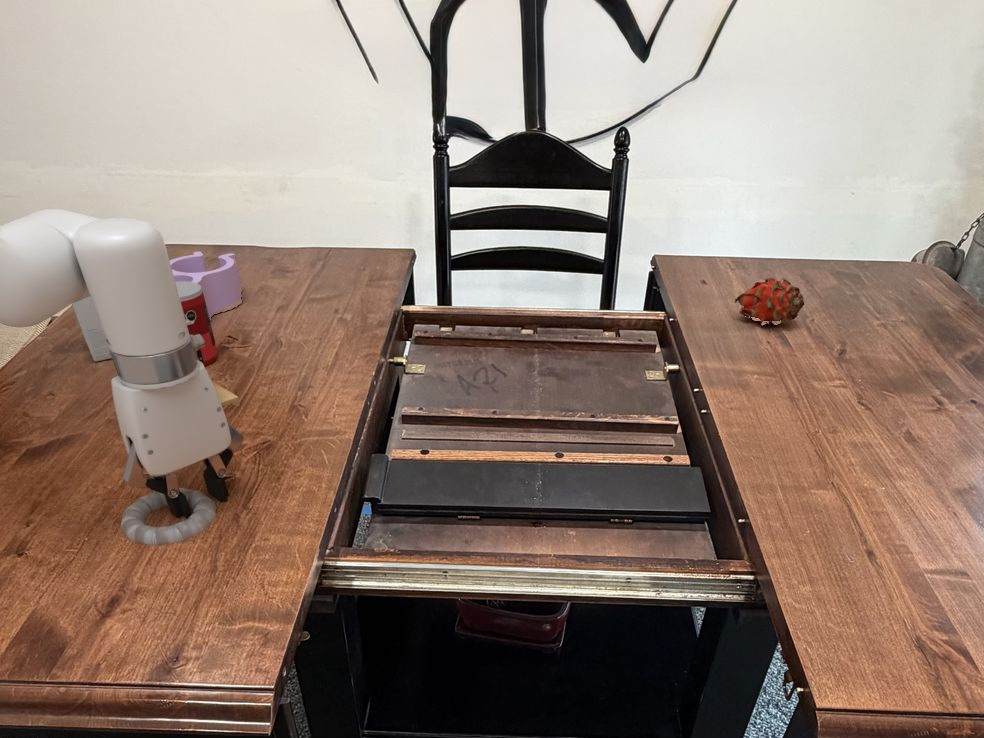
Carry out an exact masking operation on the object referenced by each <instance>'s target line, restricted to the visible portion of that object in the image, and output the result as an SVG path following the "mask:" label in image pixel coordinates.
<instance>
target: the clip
mask: <svg viewBox="0 0 984 738" xmlns="http://www.w3.org/2000/svg"><path fill="white" fill-rule="evenodd" d="M217 258H218V262H219V268H216V269H214V270H207V264H206V261H205V258H204V253H202V251H194V252H193V254H189V255H184V256H179V257H176V258H173V259H169V261H170V264H171V268H172V272H173V275H174V279H175V282H177V281H187V282H194V283H197V284H199V285H200V286H201V288H202V290H203V294H204V298H205V302H206V306H207V310H208V314H209V318H211V315H212V314H213V313H214V312H216V311H218V310H222V309H225V308H228V307H230V306H232V305H235V304H236V303H237V302H239V300H240V299H241V297H242V298H243V296H242V293H241V290H240V287H242V283H241V278H240V274H239V269H238V264H237V260H236V254H235V253H233V252H230V253H226V254H222V255H219V256H217Z"/></svg>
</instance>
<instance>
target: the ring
mask: <svg viewBox="0 0 984 738" xmlns="http://www.w3.org/2000/svg"><path fill="white" fill-rule="evenodd" d="M179 490H180V491H181V492H182V493H183V494H184V495H185V496H186V498H187V501H188V504H189V508H190V510H191V511H193V513H191V514H192V515H191V516H190V517H189V518H188V519H186V518H185V519H184V520H182V521H179V522H178V523H175V524H171V525H165V526H152V525H147V524H146V519H147V517H148V516H150V514H151V513H153V512H155V511H157V510H159V509H162V508H164V507H168V504H167V501H166V498H165V495H164V494H162V493H159V492H156V491H153V492H151V493H149V494H146V495H144V496H141V497H139V498H137V499H135V501H134V502H132V503H131V504H130V505H129V506H128V507H127V508H126V509H125V510H124V511H123V513H122V517H121V521H120V531H121V533H122V535H124V536H125V537H126V538H127V539H128V540H130V541H131V542H132V543H137V544H142V545H147V546H162V545H163V546H164V545H169V544H176V543H182V542H184V541H186V540H188V539H190V538H193V537H194V536H197V535H199V534H201V533H203V532H204V531H205V530H206V529H207V528H209V526H210V525H211V524H212V523H213V522H214V521H215V520H216V518H217V505H216V502H215V501H214V500H213V499H212V498H210V496H207V495H206V494H205V493H204V492H203V491H201V490H197V489H192V488H191V489H190V488H184V487H179Z"/></svg>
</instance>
